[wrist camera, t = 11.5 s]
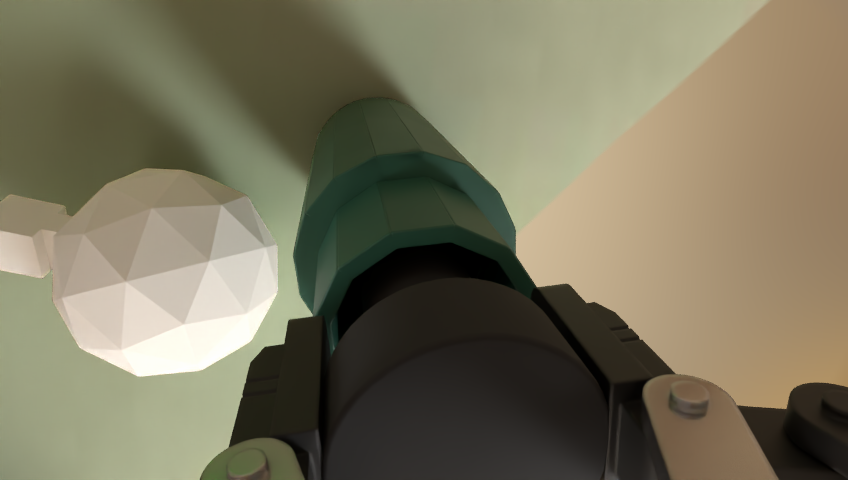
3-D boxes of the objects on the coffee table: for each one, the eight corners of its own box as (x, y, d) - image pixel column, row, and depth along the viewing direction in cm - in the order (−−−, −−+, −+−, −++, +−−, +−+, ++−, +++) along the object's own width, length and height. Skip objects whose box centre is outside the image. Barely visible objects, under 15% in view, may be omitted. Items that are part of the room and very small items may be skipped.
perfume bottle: (310, 158, 25) (41, 96, 24) (250, 291, 18) (-142, 211, 17) (294, 292, 30) (71, 246, 29) (242, 437, 23) (-58, 385, 22)
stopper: (337, 380, 14) (341, 598, 9) (312, 217, 13) (298, 361, 7) (504, 355, 15) (605, 544, 9) (501, 196, 13) (624, 314, 8)
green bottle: (323, 227, 28) (305, 470, 13) (305, 103, 26) (255, 212, 10) (442, 214, 29) (566, 427, 13) (435, 91, 27) (574, 178, 11)
